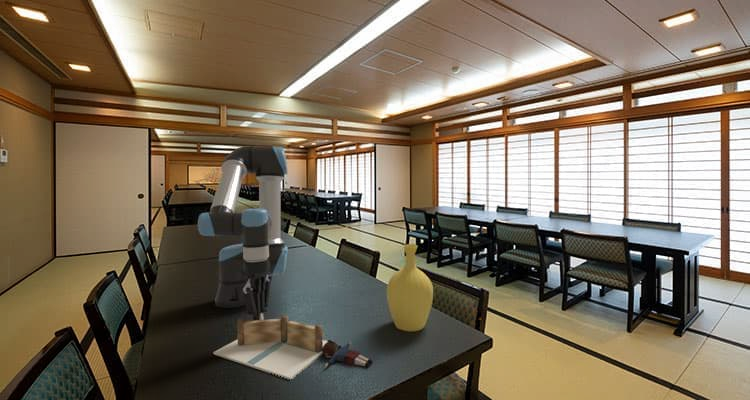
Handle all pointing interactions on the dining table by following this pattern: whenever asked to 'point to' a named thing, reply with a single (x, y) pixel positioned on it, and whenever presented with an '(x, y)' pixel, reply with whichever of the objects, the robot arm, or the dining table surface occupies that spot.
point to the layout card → (271, 356)
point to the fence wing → (262, 330)
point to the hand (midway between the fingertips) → (259, 333)
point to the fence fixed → (306, 335)
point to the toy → (344, 354)
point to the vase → (410, 294)
